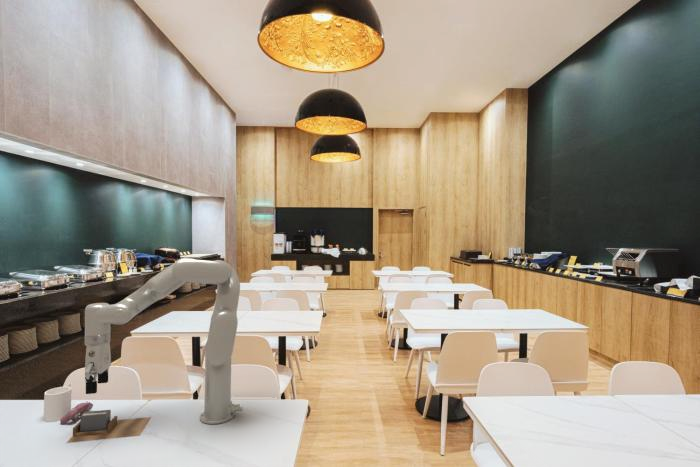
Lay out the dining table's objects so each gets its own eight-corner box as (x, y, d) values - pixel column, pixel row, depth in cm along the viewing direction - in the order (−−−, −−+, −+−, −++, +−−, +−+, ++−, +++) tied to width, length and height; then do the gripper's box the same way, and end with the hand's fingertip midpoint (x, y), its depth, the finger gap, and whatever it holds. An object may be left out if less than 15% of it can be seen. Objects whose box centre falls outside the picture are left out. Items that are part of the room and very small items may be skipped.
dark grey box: (110, 426, 135) (110, 408, 135) (106, 431, 132) (106, 413, 132) (84, 429, 133) (85, 410, 133) (80, 434, 130) (80, 415, 130)
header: (151, 419, 143) (151, 408, 143) (139, 438, 129) (140, 426, 129) (85, 425, 138) (85, 414, 138) (65, 445, 124) (66, 433, 124)
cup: (81, 407, 153) (82, 382, 153) (61, 421, 141) (62, 394, 141) (59, 408, 152) (60, 383, 152) (38, 422, 140) (38, 395, 140)
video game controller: (67, 429, 138) (74, 413, 138) (57, 422, 139) (65, 406, 139) (90, 417, 148) (97, 401, 148) (81, 411, 149) (88, 395, 148)
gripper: (99, 344, 126) (99, 396, 125) (118, 332, 143) (118, 378, 142) (73, 346, 124) (73, 399, 124) (96, 333, 141) (95, 380, 140)
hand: (97, 387), depth 133 cm, fingers open, 9 cm apart
